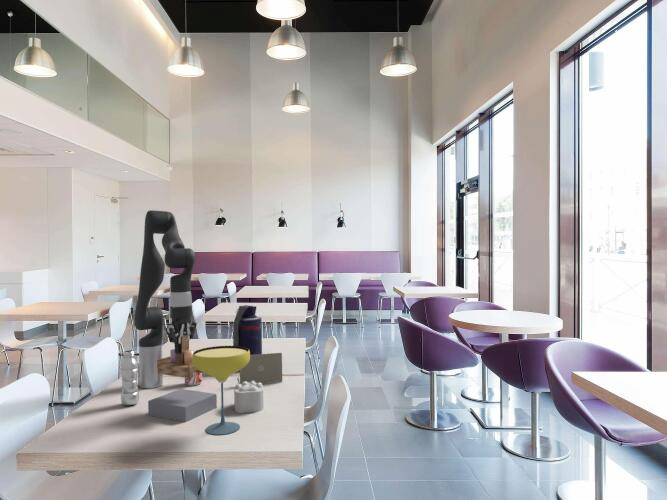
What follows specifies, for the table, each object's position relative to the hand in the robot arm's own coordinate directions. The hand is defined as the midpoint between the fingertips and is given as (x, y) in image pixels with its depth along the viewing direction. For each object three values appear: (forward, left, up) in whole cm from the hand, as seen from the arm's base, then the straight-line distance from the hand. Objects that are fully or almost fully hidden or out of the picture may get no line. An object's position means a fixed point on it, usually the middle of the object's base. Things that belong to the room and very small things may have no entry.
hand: (181, 352), depth 179 cm
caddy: (0, 0, -7) cm, 7 cm away
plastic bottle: (-24, -2, -21) cm, 32 cm away
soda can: (-21, +29, -21) cm, 42 cm away
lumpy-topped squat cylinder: (+19, +14, -21) cm, 32 cm away
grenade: (-15, +60, -21) cm, 65 cm away
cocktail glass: (+24, -8, -21) cm, 33 cm away
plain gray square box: (0, 0, -21) cm, 21 cm away
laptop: (+2, +45, -22) cm, 50 cm away
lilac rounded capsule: (-3, 0, -4) cm, 5 cm away
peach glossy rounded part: (+3, 0, -4) cm, 5 cm away
